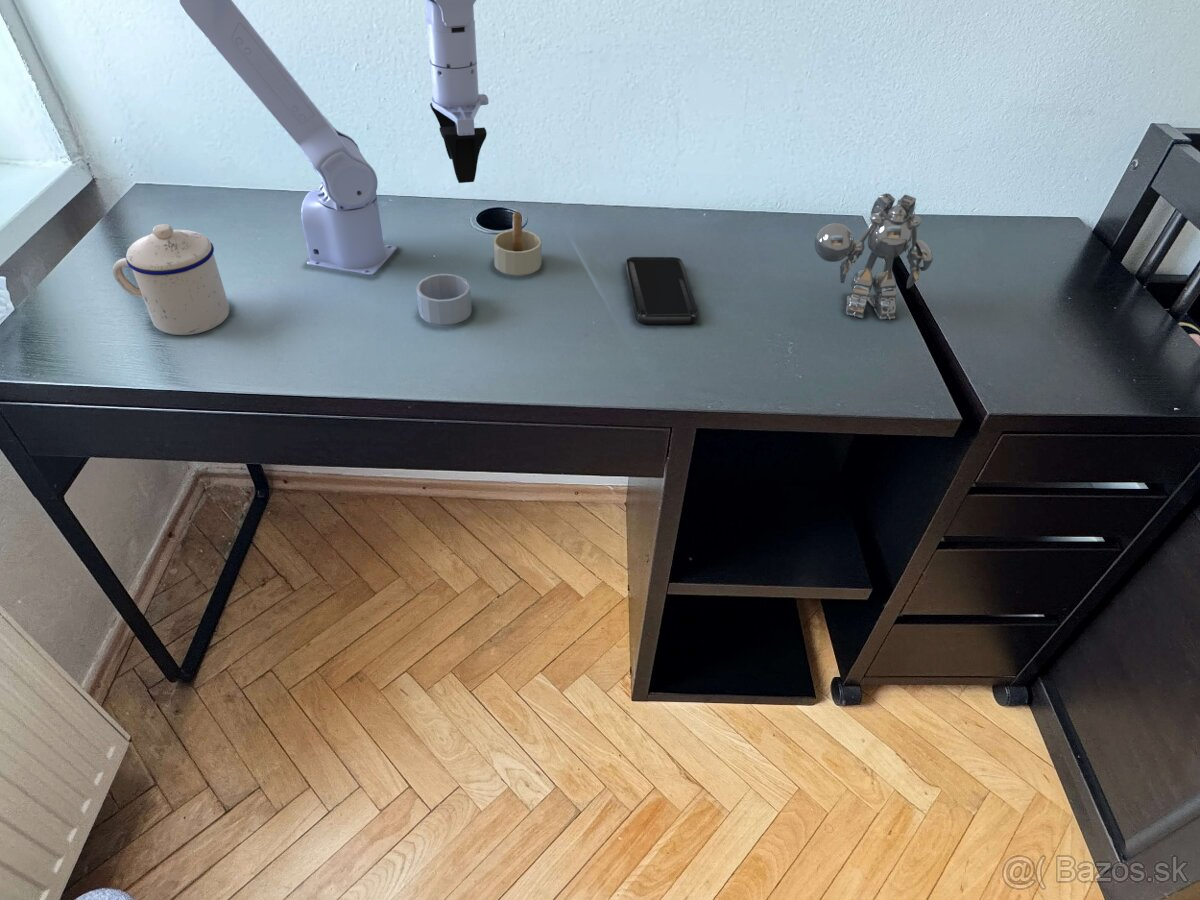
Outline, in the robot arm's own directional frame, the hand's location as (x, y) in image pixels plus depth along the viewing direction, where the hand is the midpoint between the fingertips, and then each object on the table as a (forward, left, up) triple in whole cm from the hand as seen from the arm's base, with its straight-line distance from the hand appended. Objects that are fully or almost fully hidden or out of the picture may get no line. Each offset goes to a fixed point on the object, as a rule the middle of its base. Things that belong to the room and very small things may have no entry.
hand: (461, 169), depth 107 cm
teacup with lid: (-26, -29, -11) cm, 40 cm away
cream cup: (+9, -5, -10) cm, 15 cm away
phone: (+29, -6, -10) cm, 32 cm away
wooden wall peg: (+9, -5, -10) cm, 14 cm away
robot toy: (+55, -1, -11) cm, 56 cm away
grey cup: (+4, -19, -10) cm, 22 cm away
